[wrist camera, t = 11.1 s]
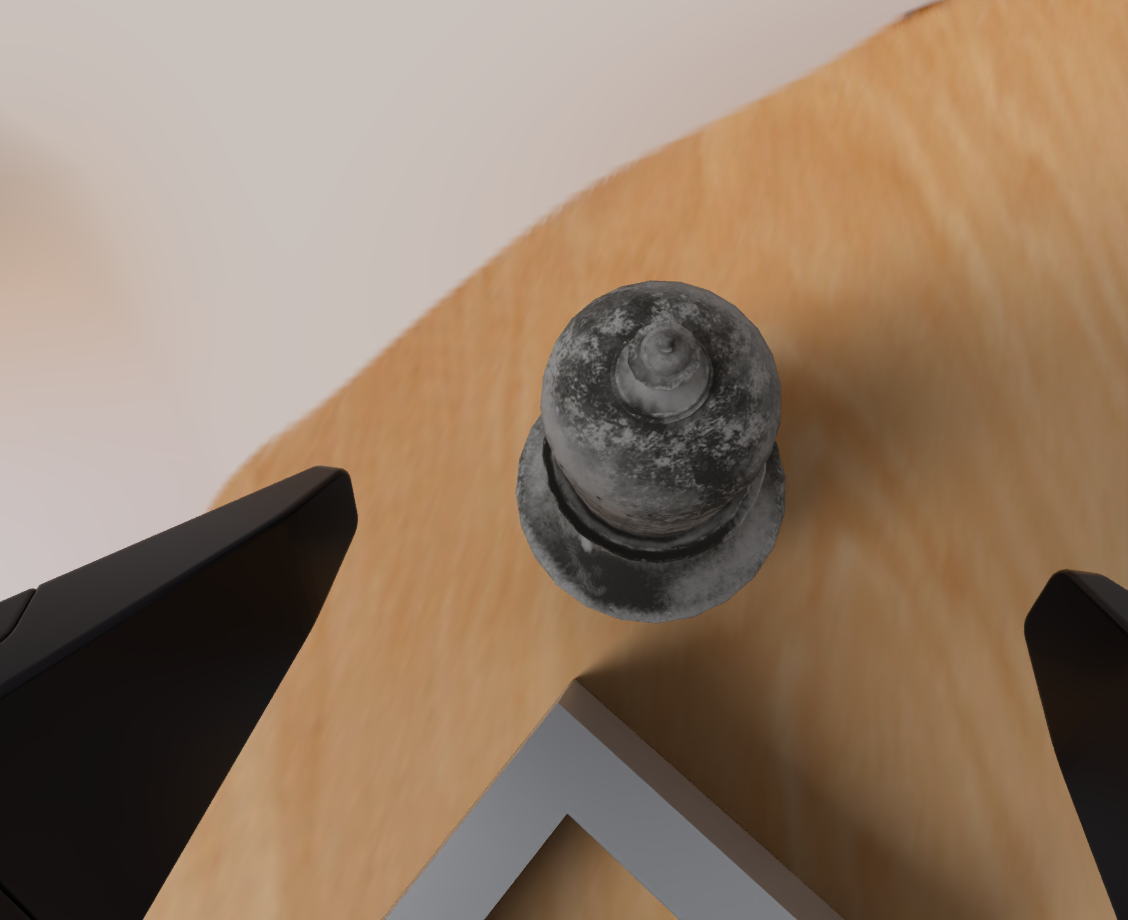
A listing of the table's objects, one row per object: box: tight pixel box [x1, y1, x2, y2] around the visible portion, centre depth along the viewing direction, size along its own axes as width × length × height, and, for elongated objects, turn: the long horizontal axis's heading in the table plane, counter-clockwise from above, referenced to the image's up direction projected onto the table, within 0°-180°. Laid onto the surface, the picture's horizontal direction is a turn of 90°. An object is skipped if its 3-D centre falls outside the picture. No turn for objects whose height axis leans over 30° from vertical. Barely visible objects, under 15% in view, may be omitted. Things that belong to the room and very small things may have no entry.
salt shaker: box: [516, 281, 785, 623], centre depth 11 cm, size 6×6×12 cm
